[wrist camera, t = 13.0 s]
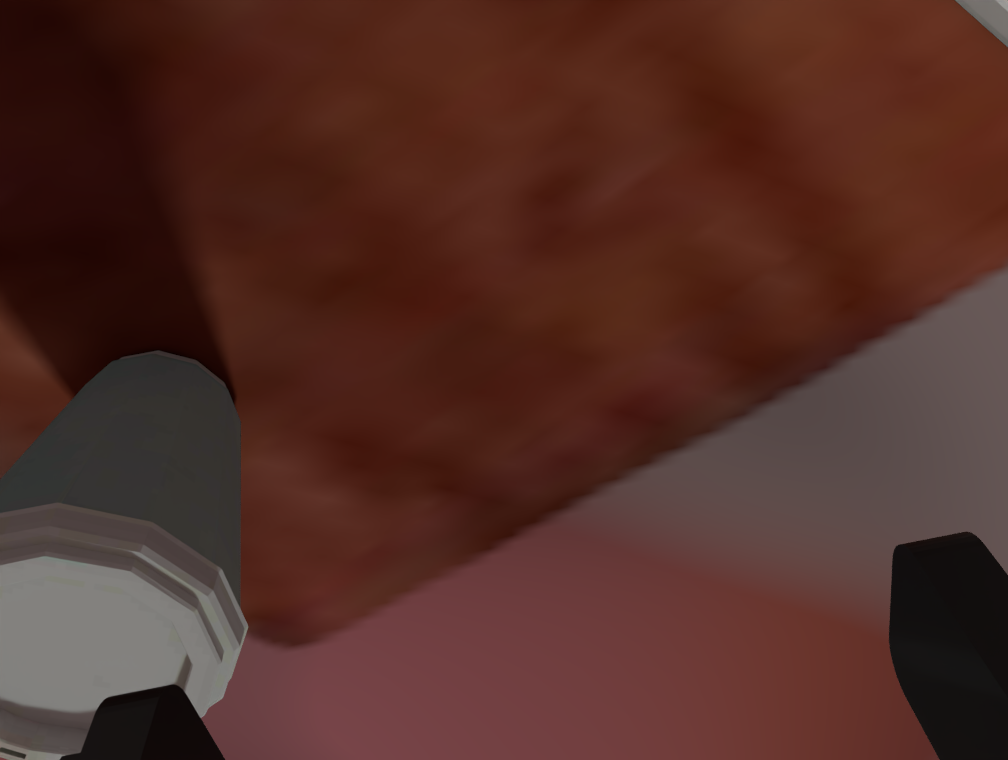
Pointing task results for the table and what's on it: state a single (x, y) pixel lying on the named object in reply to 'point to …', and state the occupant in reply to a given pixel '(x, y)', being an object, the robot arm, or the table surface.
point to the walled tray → (990, 15)
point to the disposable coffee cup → (120, 553)
